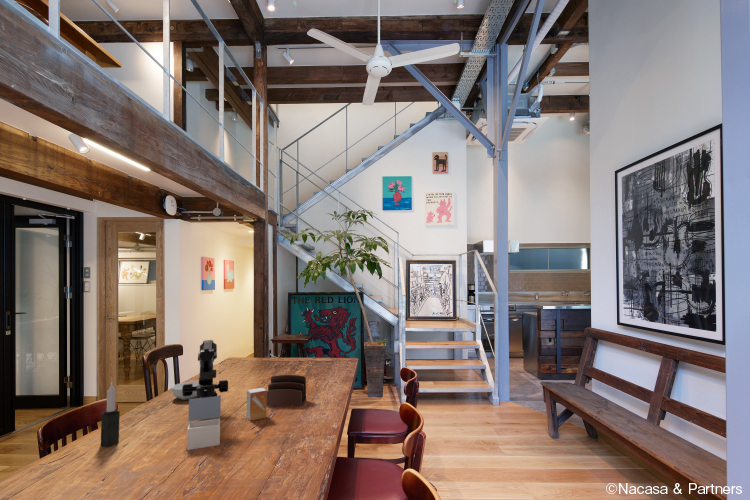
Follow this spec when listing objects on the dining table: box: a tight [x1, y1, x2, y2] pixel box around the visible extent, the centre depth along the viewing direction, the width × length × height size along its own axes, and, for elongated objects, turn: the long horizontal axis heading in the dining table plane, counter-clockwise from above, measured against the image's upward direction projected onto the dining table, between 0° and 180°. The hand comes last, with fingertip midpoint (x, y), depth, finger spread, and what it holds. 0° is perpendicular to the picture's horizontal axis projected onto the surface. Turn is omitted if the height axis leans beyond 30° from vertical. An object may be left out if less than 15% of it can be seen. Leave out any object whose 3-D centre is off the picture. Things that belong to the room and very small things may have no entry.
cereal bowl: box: [171, 381, 199, 401], centre depth 223 cm, size 17×17×7 cm
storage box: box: [186, 417, 221, 451], centre depth 161 cm, size 8×12×8 cm, turn 112°
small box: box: [246, 387, 268, 421], centre depth 190 cm, size 8×6×13 cm
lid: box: [188, 395, 222, 422], centre depth 166 cm, size 9×12×1 cm
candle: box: [100, 381, 121, 448], centre depth 162 cm, size 5×5×25 cm
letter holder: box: [267, 374, 307, 407], centre depth 211 cm, size 10×20×14 cm, turn 87°
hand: (205, 405), depth 169 cm, fingers closed
